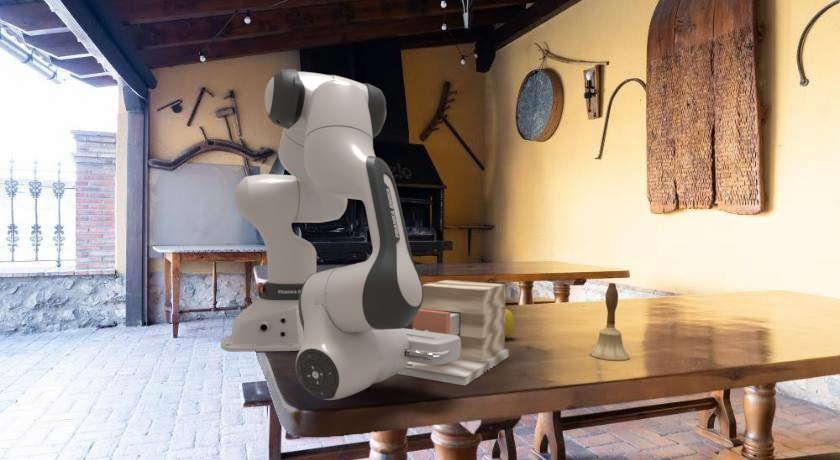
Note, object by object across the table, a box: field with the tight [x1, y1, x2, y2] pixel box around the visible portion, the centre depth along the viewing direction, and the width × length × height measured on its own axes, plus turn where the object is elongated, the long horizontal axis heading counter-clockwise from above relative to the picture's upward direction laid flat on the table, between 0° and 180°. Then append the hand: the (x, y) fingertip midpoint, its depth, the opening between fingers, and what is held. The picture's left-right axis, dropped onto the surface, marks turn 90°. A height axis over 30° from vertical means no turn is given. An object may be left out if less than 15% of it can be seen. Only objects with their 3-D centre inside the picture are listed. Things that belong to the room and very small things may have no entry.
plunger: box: [411, 309, 461, 335], centre depth 102 cm, size 12×7×7 cm, turn 152°
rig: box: [396, 279, 510, 386], centre depth 106 cm, size 24×16×16 cm
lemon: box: [505, 307, 515, 338], centre depth 129 cm, size 6×6×8 cm
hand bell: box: [589, 282, 631, 362], centre depth 114 cm, size 8×8×16 cm
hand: (422, 333), depth 95 cm, fingers closed
